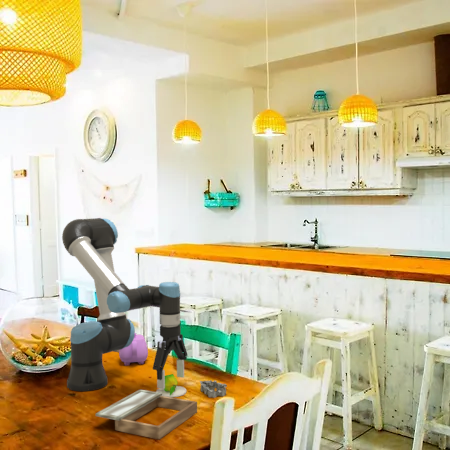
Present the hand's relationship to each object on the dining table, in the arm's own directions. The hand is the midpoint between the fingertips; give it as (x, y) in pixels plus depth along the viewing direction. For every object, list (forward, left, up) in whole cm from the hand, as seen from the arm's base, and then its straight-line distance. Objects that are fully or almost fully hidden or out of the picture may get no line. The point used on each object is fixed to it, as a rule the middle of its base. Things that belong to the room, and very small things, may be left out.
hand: (171, 382), depth 201 cm
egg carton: (+14, +6, -4) cm, 16 cm away
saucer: (0, 0, -4) cm, 4 cm away
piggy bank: (-36, +27, -4) cm, 45 cm away
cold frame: (+7, -25, -4) cm, 26 cm away
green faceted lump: (0, -1, -3) cm, 3 cm away
